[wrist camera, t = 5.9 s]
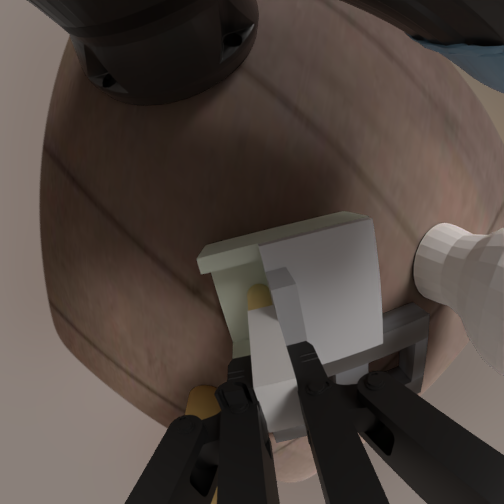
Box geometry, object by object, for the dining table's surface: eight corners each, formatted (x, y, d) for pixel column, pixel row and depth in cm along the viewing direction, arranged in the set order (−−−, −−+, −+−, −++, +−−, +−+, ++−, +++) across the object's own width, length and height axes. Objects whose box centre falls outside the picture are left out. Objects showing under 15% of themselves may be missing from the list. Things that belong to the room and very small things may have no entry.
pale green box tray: (205, 245, 20) (196, 258, 16) (343, 210, 20) (368, 215, 16) (236, 345, 22) (236, 376, 18) (358, 312, 22) (380, 335, 18)
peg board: (250, 352, 22) (252, 372, 20) (412, 301, 22) (429, 314, 19) (273, 422, 25) (276, 442, 22) (408, 377, 24) (420, 392, 22)
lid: (257, 244, 16) (263, 259, 12) (366, 217, 16) (398, 224, 12) (287, 366, 18) (297, 402, 14) (378, 338, 18) (402, 365, 14)
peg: (183, 387, 23) (159, 490, 11) (219, 382, 23) (210, 491, 11) (196, 412, 24) (182, 508, 12) (230, 407, 24) (228, 508, 12)
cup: (416, 331, 23) (508, 417, 8) (385, 244, 21) (530, 310, 6) (478, 274, 22) (574, 321, 8) (457, 189, 20) (582, 203, 6)
